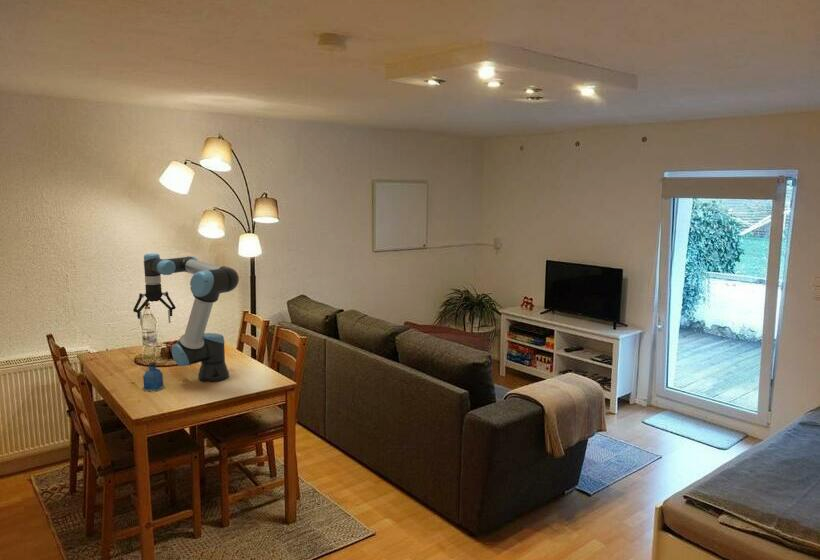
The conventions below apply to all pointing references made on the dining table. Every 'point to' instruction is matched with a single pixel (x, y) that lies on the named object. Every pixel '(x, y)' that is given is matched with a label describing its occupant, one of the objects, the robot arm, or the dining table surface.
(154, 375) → the perfume bottle
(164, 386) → the coaster
